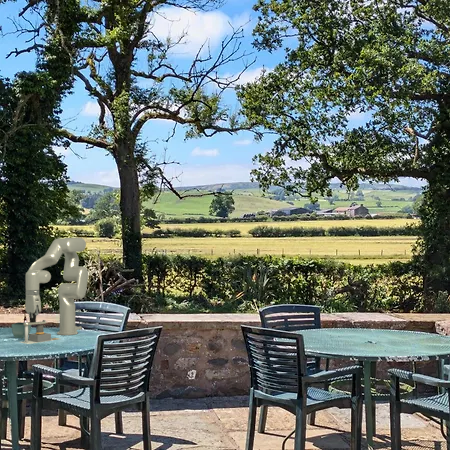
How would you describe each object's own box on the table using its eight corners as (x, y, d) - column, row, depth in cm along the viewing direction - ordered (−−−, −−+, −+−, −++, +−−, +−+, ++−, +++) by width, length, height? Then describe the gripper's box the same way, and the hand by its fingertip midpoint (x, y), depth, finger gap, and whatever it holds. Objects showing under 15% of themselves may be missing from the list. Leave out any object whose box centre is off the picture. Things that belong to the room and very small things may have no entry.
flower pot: (24, 339, 413) (24, 324, 413) (11, 339, 415) (11, 324, 415) (31, 337, 422) (31, 322, 422) (18, 337, 424) (18, 322, 424)
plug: (40, 339, 409) (41, 324, 409) (45, 340, 406) (45, 325, 406) (34, 340, 406) (34, 325, 406) (38, 341, 403) (38, 325, 403)
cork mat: (55, 338, 416) (55, 337, 416) (61, 339, 412) (61, 338, 412) (48, 339, 412) (48, 338, 412) (54, 340, 409) (54, 339, 409)
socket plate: (43, 339, 414) (43, 322, 414) (53, 341, 407) (53, 323, 407) (18, 343, 401) (18, 325, 401) (28, 345, 394) (28, 326, 394)
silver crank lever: (24, 325, 397) (24, 322, 397) (22, 325, 399) (22, 321, 399) (46, 323, 405) (46, 320, 405) (44, 323, 407) (44, 319, 407)
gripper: (45, 293, 401) (45, 325, 401) (31, 291, 412) (31, 322, 412) (33, 294, 396) (33, 326, 396) (20, 292, 406) (20, 324, 406)
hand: (32, 324), depth 404 cm, fingers closed
